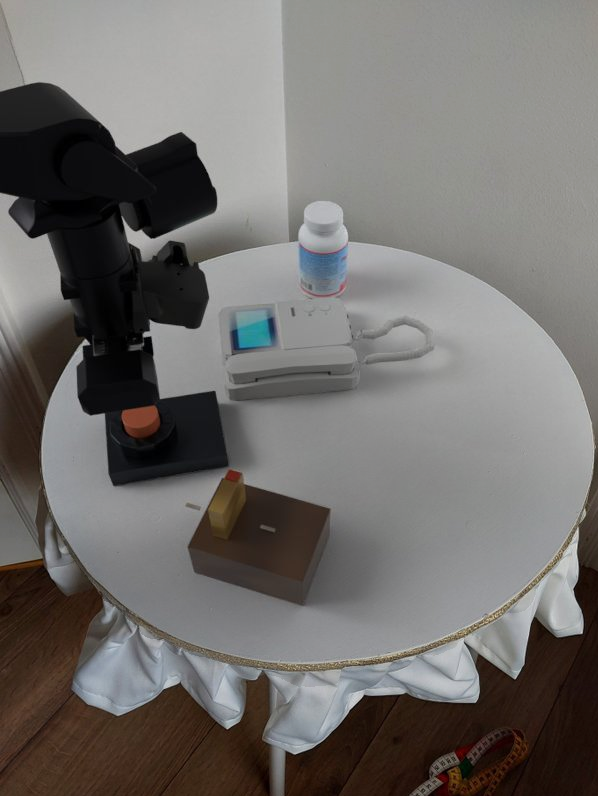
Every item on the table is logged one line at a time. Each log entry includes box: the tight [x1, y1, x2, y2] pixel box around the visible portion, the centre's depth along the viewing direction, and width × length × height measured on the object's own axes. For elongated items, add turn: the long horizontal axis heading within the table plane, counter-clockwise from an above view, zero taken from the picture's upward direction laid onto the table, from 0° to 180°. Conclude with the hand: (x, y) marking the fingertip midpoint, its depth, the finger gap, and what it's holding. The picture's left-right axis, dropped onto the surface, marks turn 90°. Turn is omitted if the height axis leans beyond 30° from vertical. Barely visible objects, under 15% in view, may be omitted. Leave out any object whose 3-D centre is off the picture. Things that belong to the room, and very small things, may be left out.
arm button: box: [122, 405, 160, 438], centre depth 74 cm, size 4×4×2 cm
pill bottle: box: [297, 200, 349, 299], centre depth 90 cm, size 6×6×11 cm
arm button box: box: [104, 390, 230, 487], centre depth 77 cm, size 12×9×4 cm
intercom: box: [217, 297, 435, 401], centre depth 85 cm, size 13×4×25 cm
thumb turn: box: [208, 468, 246, 540], centre depth 65 cm, size 5×1×5 cm, turn 162°
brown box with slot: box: [185, 477, 332, 606], centre depth 69 cm, size 13×8×5 cm, turn 72°
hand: (132, 386), depth 70 cm, fingers closed
